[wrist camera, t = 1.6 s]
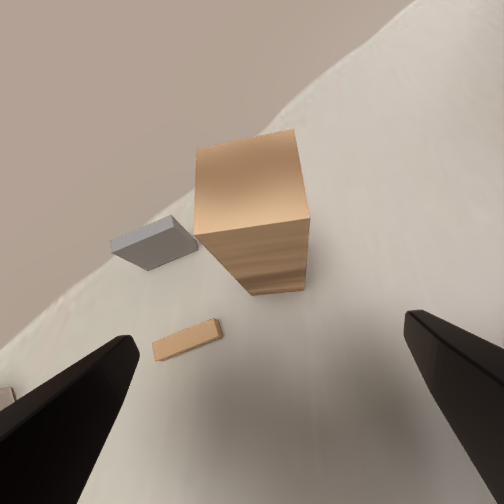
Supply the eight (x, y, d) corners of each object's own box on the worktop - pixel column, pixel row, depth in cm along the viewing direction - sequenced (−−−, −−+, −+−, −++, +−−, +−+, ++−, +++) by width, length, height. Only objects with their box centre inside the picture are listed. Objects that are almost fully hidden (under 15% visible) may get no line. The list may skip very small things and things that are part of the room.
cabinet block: (304, 290, 20) (310, 217, 9) (251, 295, 21) (193, 235, 9) (296, 241, 22) (293, 128, 10) (248, 248, 23) (196, 148, 11)
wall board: (222, 336, 20) (200, 334, 15) (162, 360, 20) (122, 364, 16) (195, 239, 24) (171, 214, 19) (145, 260, 24) (110, 240, 20)
